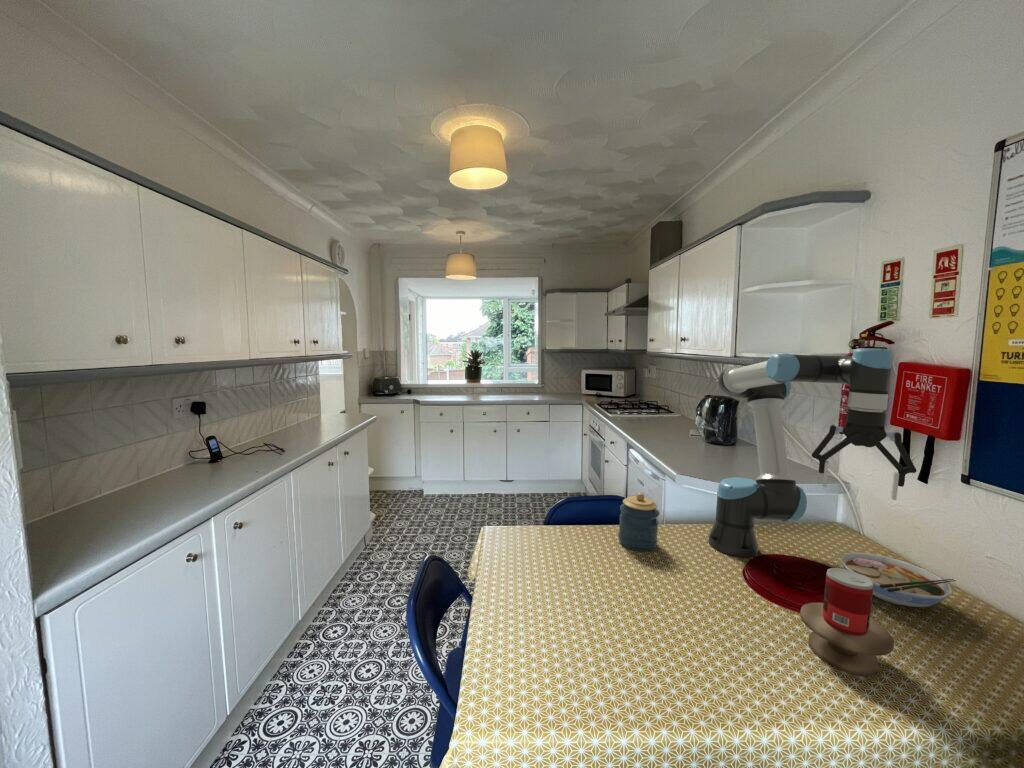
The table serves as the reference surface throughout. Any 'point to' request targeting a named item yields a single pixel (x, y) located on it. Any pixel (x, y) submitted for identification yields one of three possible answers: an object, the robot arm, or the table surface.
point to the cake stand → (846, 643)
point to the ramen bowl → (898, 580)
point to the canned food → (847, 601)
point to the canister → (638, 523)
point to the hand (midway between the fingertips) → (857, 491)
